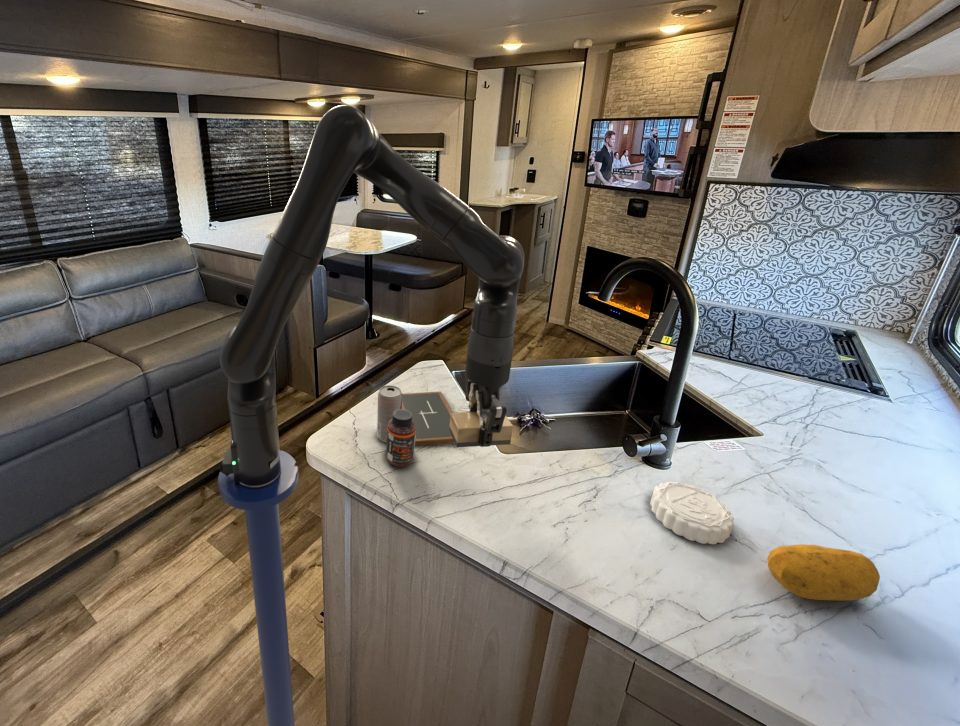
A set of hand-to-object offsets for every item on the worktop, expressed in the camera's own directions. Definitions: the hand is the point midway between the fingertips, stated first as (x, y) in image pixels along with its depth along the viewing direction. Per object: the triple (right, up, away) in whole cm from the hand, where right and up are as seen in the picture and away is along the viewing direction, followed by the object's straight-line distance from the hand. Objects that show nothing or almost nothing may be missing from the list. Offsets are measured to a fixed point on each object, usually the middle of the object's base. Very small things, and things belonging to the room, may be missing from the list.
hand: (479, 435), depth 85 cm
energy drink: (-15, -6, +21) cm, 27 cm away
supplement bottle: (-14, -9, +13) cm, 21 cm away
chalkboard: (-5, -4, +28) cm, 28 cm away
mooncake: (+38, -15, -1) cm, 41 cm away
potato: (+48, -20, -14) cm, 53 cm away
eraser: (0, 0, 0) cm, 0 cm away
